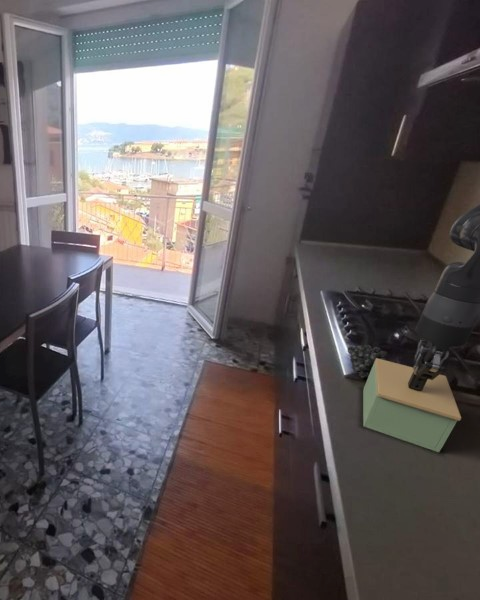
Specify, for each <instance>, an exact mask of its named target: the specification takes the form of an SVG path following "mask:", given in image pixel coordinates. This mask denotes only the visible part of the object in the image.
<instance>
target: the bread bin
mask: <svg viewBox="0 0 480 600" xmlns="http://www.w3.org/2000/svg"><path fill="white" fill-rule="evenodd" d="M362 393H363V394H362V403H363V404H362V408H363V409H362V412H363V413H362V416H363V417H362V420H363V421H362V422H363V424H362V426H363V427H364V428H367V429H369V430H373V431H375V432H379V433H381V434H383V435H386V436H390V437H392V438H396V439H398V440H401V441H404V442H408V443H410V444H413V445H416V446H419V447H422V448H425V449H427V450H431V451H433V452H436V453H441V450H442V448H443V447H444V445H445V444H446V442H447V440H448V439H449V436H450V435H451V433H452V431H453V430H454V428H455V426H456V424H457V423H458V420H455V419H451V418H448V417H445V416H442V415H438V414H435V413H432V412H428V411H425V410H422V409H419V408H415V407H412V406H409V405H405V404H402V403H399V402H396V401H392V400H389V399H386V398H382V397H379V396H378V395H377V381H376V367H375V362H374V364H373V367H372V369H371V372H370V374H369V376H368V379H367V378H366V381H365V384H364V386H363V389H362Z"/></svg>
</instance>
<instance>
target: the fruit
mask: <svg viewBox="0 0 480 600" xmlns="http://www.w3.org/2000/svg"><path fill="white" fill-rule="evenodd" d="M347 353H348V354H350V356H349V357H350V363H351V368H352V370H353V371H354V373H355V374H356V375H358V377H360V378H361V379H366V380H367V379H368V376H369V374H370V372H371V369H372V367H373V364H374V362H375V359H376V358H378V359H382V360H385V361H389V362H392V361H391V360H390V359H389V358H387V357H388V356H389V354H388V352H387V351H385V350H382V349H381V347H379V346H374V347H372V346H371V345H370V344H364V345H362V344H359V345H353V346H349V347H348V348H347ZM358 372H359V373H358Z"/></svg>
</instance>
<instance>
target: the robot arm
mask: <svg viewBox="0 0 480 600" xmlns="http://www.w3.org/2000/svg"><path fill="white" fill-rule="evenodd" d="M449 238H450V241H451V242H452V243H453V244H455V245H456V246H458V247H460V248H463V249H466V250H469V251H471V252H473V253H472V255H471V256H470V257H469V258H468V259H467V260H466V261H457V262H451V263H449V264H447V265H446V266H445V267H444V269H443V271H442V272H441V274H440V276H439V279H438V281H437V283H436V285H435V287H434V289H433V292H432V293H431V294H430V296H429V297H428V299H427V301H426V303H425V305H424V307H423V311H422V312H421V315H420V316H419V319H418V321H417V323H416V326H415V328H414V332H415V333H416V335H417V336H419V337H420V338H418V342H417V348H416V351H415V354H414V359H413V361H412V363H413V367H412V368H413V370H414V371H413V373H412V375H411V378H410V380H409V382H408V387H409V388H410V389H413V390H416V391H422V390H423V388H424V386H425V384H426V382H427V380H428V379H430V380H433V379H435V378H436V377H437V376H438V375H442V373H444V372H445V371H446V366H445V365H442V364H443V362H444V361H446V360H447V359H448V357H449V355H450V351H448V350H449V348H452V347H456V348H457V347H462V346H465V345H466V344H467V342H468V341H469V338H470V337H471V335H472V333H473V331H474V330H475V327H476V325H477V323H478V322H479V320H480V204H478V205H476V206H474V207H473V208H470V209H469V210H467V211H465V212H464V213H463V214H461V215H460V216H459V217H458V218H457V219H456V220H455V221H454V223H453V224H452V225H451V227H450V230H449Z"/></svg>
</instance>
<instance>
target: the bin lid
mask: <svg viewBox="0 0 480 600" xmlns="http://www.w3.org/2000/svg"><path fill="white" fill-rule="evenodd" d="M375 367H376V381H377V395H378V396H379V397H382V398H386V399H389V400H392V401H396V402H399V403H402V404H405V405H409V406H412V407H415V408H419V409H422V410H425V411H428V412H432V413H435V414H438V415H442V416H445V417H448V418H451V419H455V420H458V421H459V422H460V421H461V420H462V416H461V413H460V410H459V408H458V405H457V402H456V400H455V397H454V394H453V392H452V389H451V386H450V383H449V381H448V378H447V376H446V375H443V374H440V375H438V376H437V377H436V378H435V379H433V380H430V379H428V380H427V382H426V384H425V386H424V388H423V390H422V391H416V390H413V389H410V388H409V387H408V382H409V380H410V378H411V375H412V373H413V371H414V370H413V367H412V366H409V365H404V364H402V363H401V364H400V363H396V362H393V361H391V362H389V361H385V360H382V359H378V358H376V359H375ZM458 421H457V422H458Z"/></svg>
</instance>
